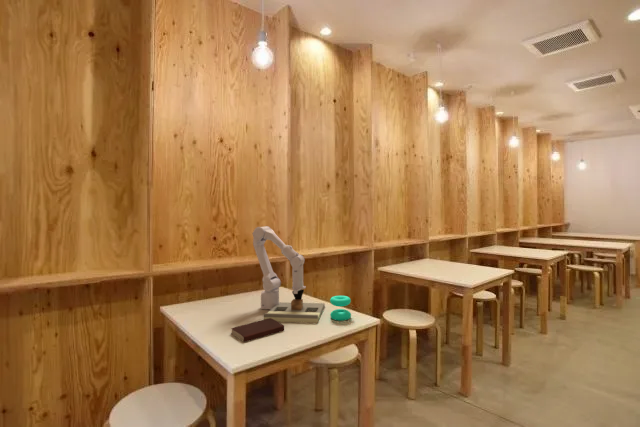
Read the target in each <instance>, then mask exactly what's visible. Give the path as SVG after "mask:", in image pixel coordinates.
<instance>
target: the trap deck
mask: <svg viewBox="0 0 640 427" xmlns="http://www.w3.org/2000/svg"><path fill="white" fill-rule="evenodd" d="M325 305H326V304H325V303H323V302H319V303H318V302H303V308H302V309H301V310H291V302H285V301H284V302H283V301H281V302H280V301H279V304H278V305H274V307H273V308H272V309H269V311H268V312H265V313H263V314H262V315H263V316H262V317H263V318H262V320H264V319H268V318H271V319H274V320H275V321H277V322H279V323H303V324H304V323H306V324H308V323H310V324H318V323H319V322H320V321H319V320H320V318H321V316H322V315H323V312H324V310H325Z"/></svg>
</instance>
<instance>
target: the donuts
mask: <svg viewBox="0 0 640 427" xmlns="http://www.w3.org/2000/svg"><path fill="white" fill-rule="evenodd" d="M329 302H330V304H331V305H333V306H335V307H339V308H337V309H334V310H332V311H331V312H330V314H329V315H330V318H331V319H332V320H334V321H339V322H341V321H342V322H343V321H347V320H350V319H351V316H352V313H351V312H350V311H349V310H348V309H343V308H340V307H346V306H349V305H350V304H351V302H352V300H351V298H350V296H347V295H334V296H331V298H330V299H329Z"/></svg>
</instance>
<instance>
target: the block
mask: <svg viewBox="0 0 640 427" xmlns="http://www.w3.org/2000/svg"><path fill="white" fill-rule="evenodd" d="M303 300H304V299H295V298H293V299H292V300H291V301H290V303H291V310H301V309H302V308H303V303H304V301H303Z"/></svg>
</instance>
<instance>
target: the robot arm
mask: <svg viewBox="0 0 640 427" xmlns="http://www.w3.org/2000/svg"><path fill="white" fill-rule="evenodd" d="M251 233H252V238H253V239H252V245H253V249H254V252H255V256H256V258H257V260H258V263H259V265H260V269H261V272H262V275H263V276H262V279H261V280H262V287H263V290H262V291H261V293H260V310H271V309H272V308H273V307H274V305H278V304H279V302H280V287H281V285H282V281H281V279H280V278H279V277H278V274H277V273H276V272H274V270H273V267H272V264H271V262H270V259H269V256H268V253H267V250H266V247H265V243H266V241H267V240H268V241H271V242H272V243H273V244H274V245H276V246H277V247H278V248H279V249H280V251H281V254H282V256H284V257H286V259H287V260H288V261H289V264H290V266H291V267H292V270H291V271H292V274H291V276H292V286H291V288H292V294H293V297H294V299H302V298H303V294H304V292H305V290H304V289H307V286H306V285H304V264H305V256H304V255H303V254H300V253H299V252H297V251H296V250H295V249H293V246H292V245H290V244H286V243H285V242H284V241H283V240H282V239H281V238H280V237H279V236H278V235H277V234H276V233H275V230H273V229H272V228H271V227H270V226H267V225H265V226H257V227H255V228H254V230H253V232H251Z"/></svg>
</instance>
